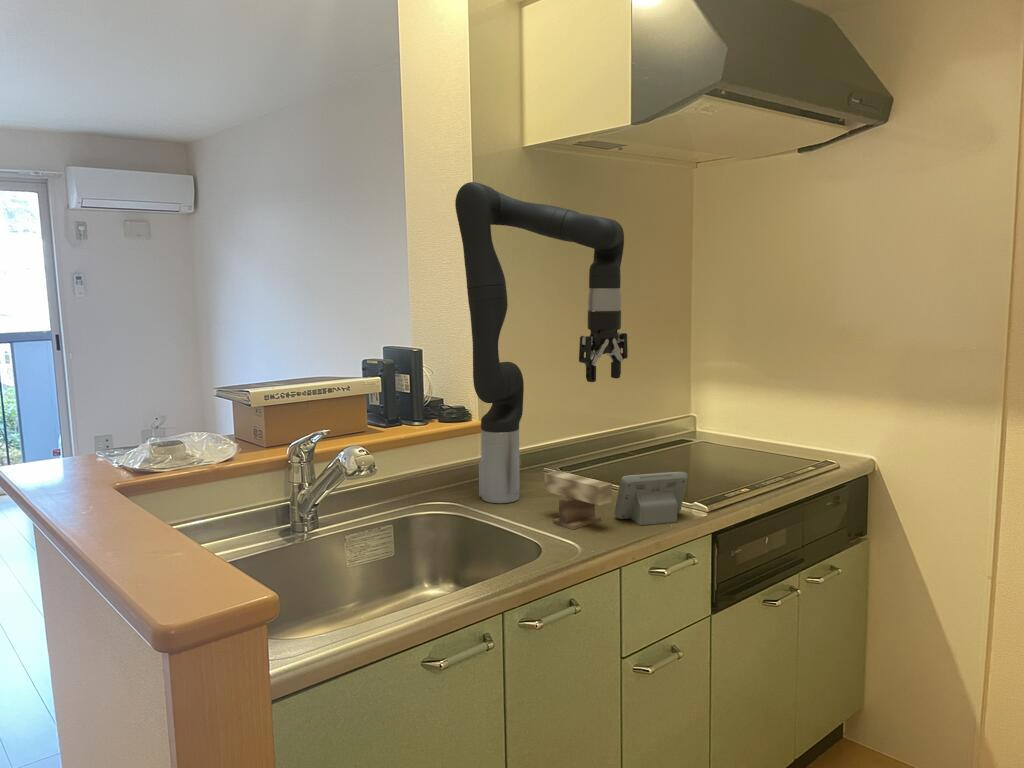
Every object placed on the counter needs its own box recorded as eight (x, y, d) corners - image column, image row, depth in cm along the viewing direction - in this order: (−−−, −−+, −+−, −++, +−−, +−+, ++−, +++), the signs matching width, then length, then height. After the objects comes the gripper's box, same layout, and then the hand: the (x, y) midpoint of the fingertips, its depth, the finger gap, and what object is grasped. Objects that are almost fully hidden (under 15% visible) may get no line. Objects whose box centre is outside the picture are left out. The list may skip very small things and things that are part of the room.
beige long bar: (544, 490, 175) (544, 473, 174) (556, 487, 178) (556, 470, 177) (599, 505, 164) (599, 487, 163) (611, 501, 166) (611, 483, 166)
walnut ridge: (553, 523, 171) (553, 497, 170) (580, 514, 177) (580, 489, 176) (573, 529, 166) (573, 503, 165) (600, 520, 172) (601, 495, 172)
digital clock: (681, 512, 178) (682, 467, 177) (692, 524, 169) (694, 477, 168) (611, 513, 177) (611, 468, 176) (618, 526, 168) (619, 478, 167)
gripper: (611, 307, 183) (610, 375, 185) (570, 309, 173) (570, 381, 175) (637, 308, 177) (636, 378, 180) (596, 310, 168) (595, 384, 170)
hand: (603, 379), depth 178 cm, fingers open, 8 cm apart
